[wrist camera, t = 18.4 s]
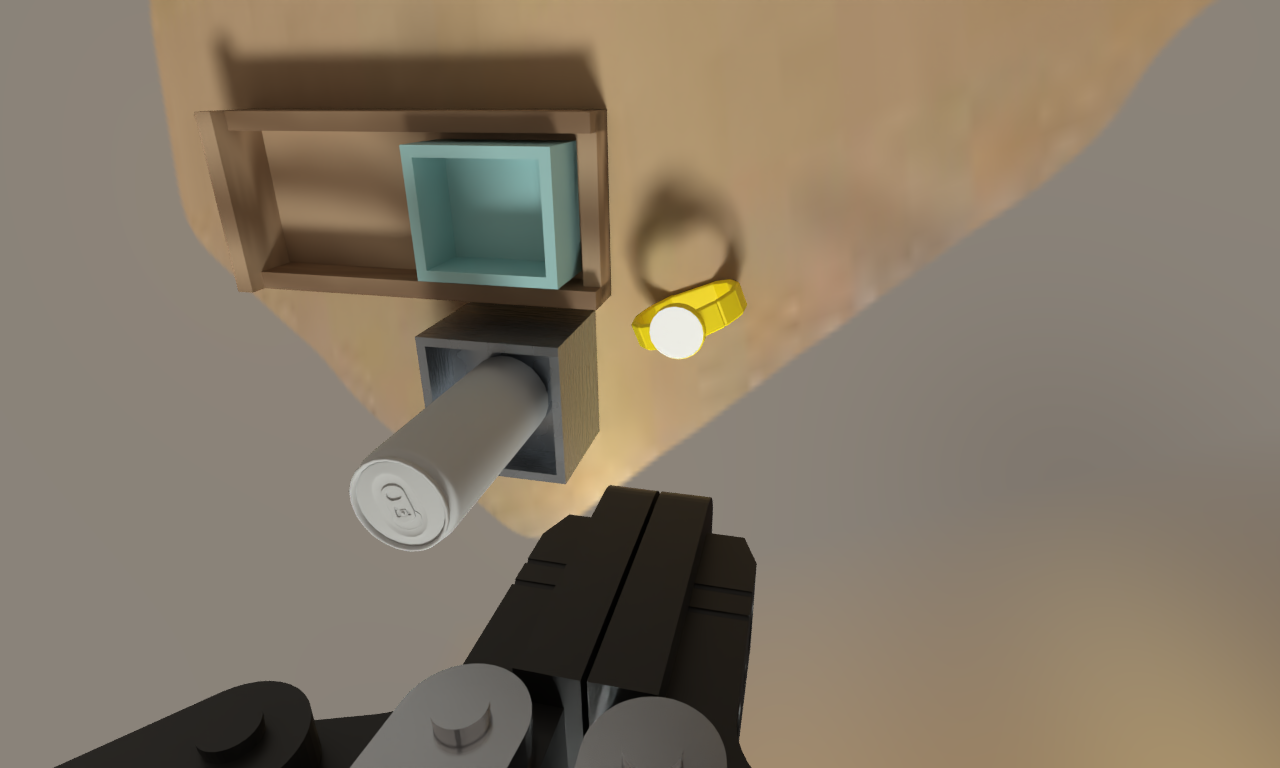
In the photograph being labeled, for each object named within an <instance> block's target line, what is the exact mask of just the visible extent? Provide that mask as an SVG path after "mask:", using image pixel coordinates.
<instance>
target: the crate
mask: <svg viewBox="0 0 1280 768" xmlns="http://www.w3.org/2000/svg"><path fill="white" fill-rule="evenodd" d="M399 147H400V155H401V162H402V169H403V176H404V183H405V191H406V198H407V205H408V212H409V219H410V227H411V234H412V241H413V248H414V255H415V263H416V270H417V277H418V281H426V282H442V283H459V284H475V285H492V286H508V287H525V288H541V289H559V288H560V287H562V286H563V285H564V284H565V283H567V282H568V281H569V280H570V279H572V278H573V277H574V276H575V275H577V274H578V273H579V272H581V271H582V269H581V244H580V220H579V196H578V172H577V147H576V140H488V139H435V140H428V141H421V142H414V143H407V144H401V145H399Z"/></svg>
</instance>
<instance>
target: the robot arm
mask: <svg viewBox="0 0 1280 768" xmlns="http://www.w3.org/2000/svg"><path fill="white" fill-rule="evenodd" d="M712 516H713V501H712V498H711V497H702V496H694V495H686V494H678V493H670V492H661V493H659V491H653V490H645V489H636V488H628V487H620V486H612V485H610V486H608V487H607V489H606V490H605V492H604V494H603V496H602V498H601V500H600V502H599V504H598V505H597V508H596V509H595V512H594V513H593V515H592V517H584V516H576V515H568V516H567V517H566V518H564V519H563V520H561V521H560V522H559V523H557V524H556V525H554V526H553V527H552V528H550V529H549V530H548V531H546V532H545V533H543V535H542V536H541V538H540V540H539V541H538V543H537V545H536V546H535V548H534V550H533V551H532V553H531V554H530V556H529V558H528V563H525V564H524V566H523V568H522V569H521V571H520V572H519V574H518V576H517V577H516V581H515V584H512V585H511V587H510V589H509V590H508V592H507V594H506V595H505V597H504V599H503V600H502V602H501V603H500V605H499V607H498V608H497V610H496V611H495V613H494V615H493V616H492V618H491V620H490V621H489V623H488V625H487V626H486V628H485V629H484V631H483V633H482V634H481V636H480V638H479V639H478V641H477V642H476V644H475V646H474V647H473V649H472V651H471V652H470V654H469V656H468V657H467V659H466V660H465V662H464V664H463V665H460V666H455V667H451V668H448V669H445V670H442V671H440V672H438V673H436V674H434V675H432V676H430V677H428V678H427V679H425V680H424V681H422V682H421V683H419V684H418V685H417V686H416V687H415V688H413V689H412V690H411V691H410V692H409V693H408V694H407V695H406V697H405V698H404V699H403V700H402V701H401V702H400V704H399V705H398V706H397V708H396V709H395V710H394V711H392V712H388V713H382V714H375V715H364V716H354V717H344V718H333V719H323V720H314V718H313V714H312V710H311V707H310V703H309V700H308V699H307V697H306V696H305V694H304V693H303V692H302V691H301V690H299V689H298V688H296V687H294V686H292V685H290V684H287V683H283V682H276V681H261V682H254V683H248V684H244V685H240V686H237V687H234V688H231V689H228V690H226V691H223V692H221V693H219V694H217V695H214V696H212V697H210V698H208V699H205V700H203V701H201V702H199V703H196V704H194V705H192V706H190V707H187V708H185V709H183V710H181V711H179V712H176V713H174V714H172V715H170V716H167V717H165V718H163V719H161V720H159V721H157V722H154V723H152V724H150V725H147V726H145V727H143V728H141V729H139V730H136V731H134V732H132V733H130V734H127V735H125V736H123V737H121V738H119V739H116V740H114V741H112V742H110V743H107V744H105V745H103V746H101V747H99V748H97V749H94V750H92V751H90V752H88V753H85V754H83V755H81V756H79V757H77V758H74V759H72V760H70V761H68V762H65V763H63V764H61V765H59V766H56V767H54V768H751V766H750V765H749V764H748V762H747V761H746V758H745V756H744V754H743V752H742V750H741V747H740V744H739V736H740V728H741V720H742V711H743V703H744V695H745V687H746V678H747V670H748V663H749V654H750V643H751V631H752V617H753V605H754V591H755V577H756V565H757V564H756V561H755V559H754V557H753V555H752V553H751V551H750V549H749V547H748V545H747V542H746V540H745V538H741V537H734V536H726V535H719V534H712Z"/></svg>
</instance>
